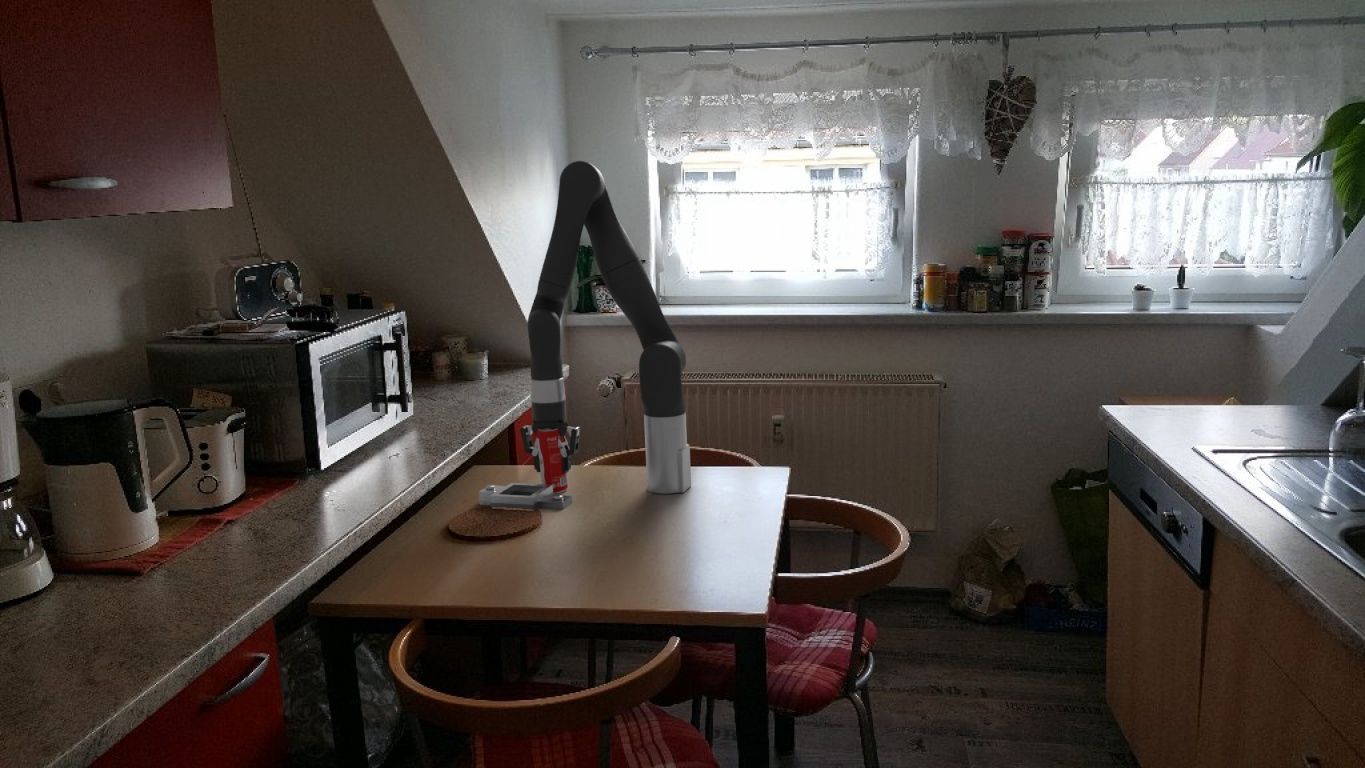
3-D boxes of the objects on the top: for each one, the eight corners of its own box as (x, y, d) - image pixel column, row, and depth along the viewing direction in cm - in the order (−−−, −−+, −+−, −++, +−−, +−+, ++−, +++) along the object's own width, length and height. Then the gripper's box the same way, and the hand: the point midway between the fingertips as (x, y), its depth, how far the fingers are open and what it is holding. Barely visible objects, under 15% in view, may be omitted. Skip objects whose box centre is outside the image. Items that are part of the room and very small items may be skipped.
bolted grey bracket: (576, 499, 213) (575, 483, 212) (558, 513, 204) (557, 496, 203) (495, 495, 219) (494, 479, 218) (474, 508, 209) (473, 492, 208)
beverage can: (570, 486, 223) (566, 422, 220) (564, 495, 216) (560, 429, 214) (544, 487, 223) (540, 423, 221) (537, 495, 217) (533, 429, 214)
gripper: (584, 395, 218) (588, 468, 221) (526, 394, 222) (530, 466, 225) (571, 402, 211) (576, 477, 213) (511, 400, 215) (516, 475, 218)
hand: (552, 471), depth 219 cm, fingers closed on beverage can, 5 cm apart
